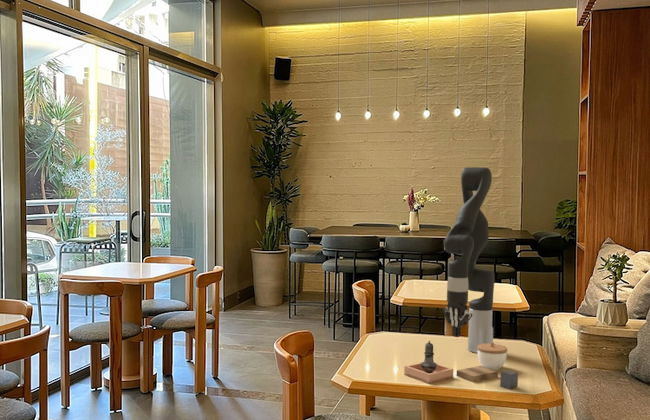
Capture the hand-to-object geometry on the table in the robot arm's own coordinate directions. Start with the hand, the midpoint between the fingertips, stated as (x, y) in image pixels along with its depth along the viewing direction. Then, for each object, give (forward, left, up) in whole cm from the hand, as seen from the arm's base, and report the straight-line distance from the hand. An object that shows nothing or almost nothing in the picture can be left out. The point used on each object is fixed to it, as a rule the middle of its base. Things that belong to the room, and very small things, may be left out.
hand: (456, 336), depth 232 cm
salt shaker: (+14, 0, -12) cm, 18 cm away
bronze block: (0, +10, -13) cm, 16 cm away
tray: (+14, 0, -12) cm, 18 cm away
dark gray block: (0, +23, -12) cm, 26 cm away
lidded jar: (-13, +6, -12) cm, 19 cm away
